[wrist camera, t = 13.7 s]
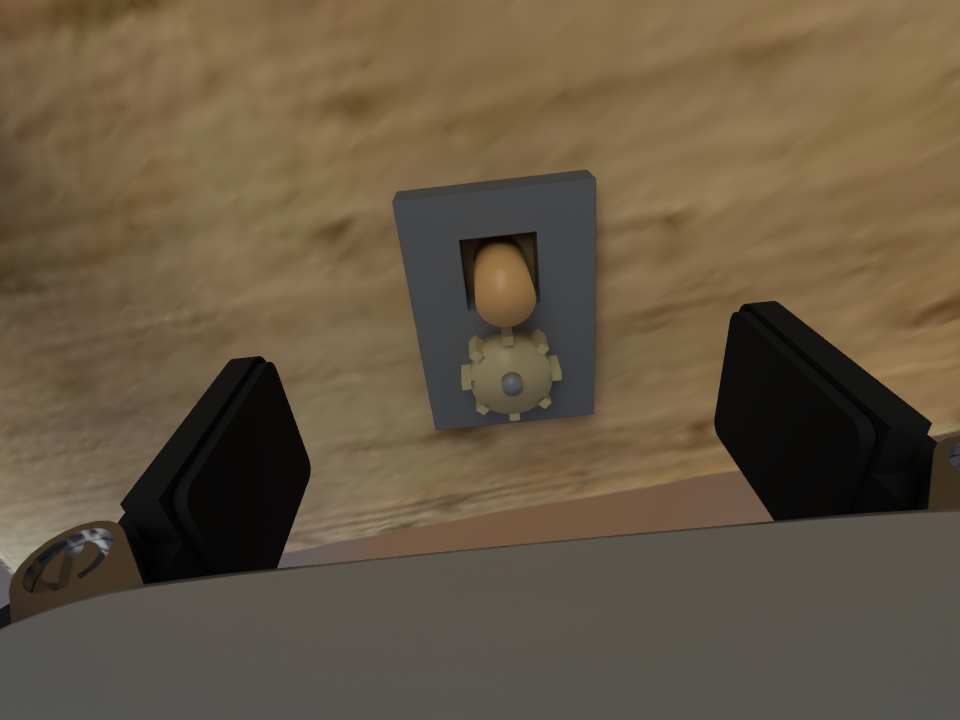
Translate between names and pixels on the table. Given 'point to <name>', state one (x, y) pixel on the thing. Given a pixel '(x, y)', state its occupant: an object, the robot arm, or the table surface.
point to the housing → (504, 350)
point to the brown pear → (502, 282)
